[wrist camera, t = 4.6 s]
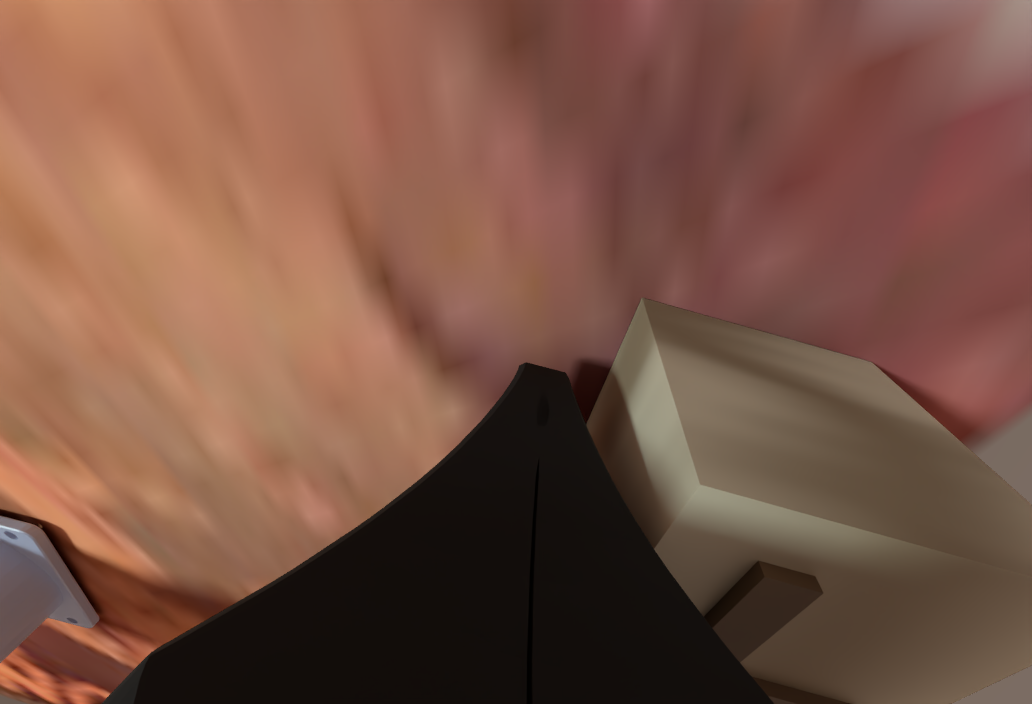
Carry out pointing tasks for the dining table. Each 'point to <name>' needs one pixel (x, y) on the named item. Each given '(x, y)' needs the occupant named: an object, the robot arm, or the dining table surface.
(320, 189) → the dining table surface
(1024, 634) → the letter cube
